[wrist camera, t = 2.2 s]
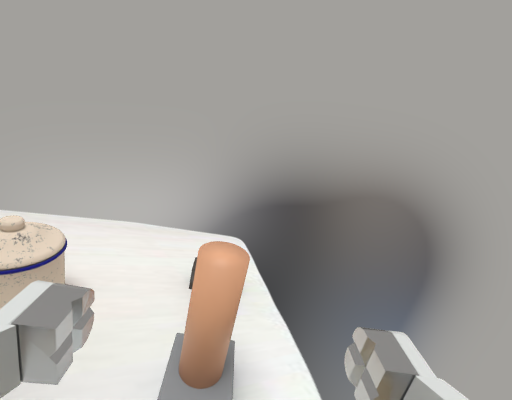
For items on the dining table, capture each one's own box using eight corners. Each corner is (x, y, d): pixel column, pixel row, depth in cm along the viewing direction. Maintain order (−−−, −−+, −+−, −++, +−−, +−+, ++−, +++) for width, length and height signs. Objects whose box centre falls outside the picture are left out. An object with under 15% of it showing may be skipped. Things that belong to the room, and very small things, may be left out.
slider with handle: (223, 441, 24) (265, 289, 19) (151, 434, 23) (174, 275, 18) (228, 367, 30) (259, 239, 25) (172, 360, 30) (193, 228, 25)
